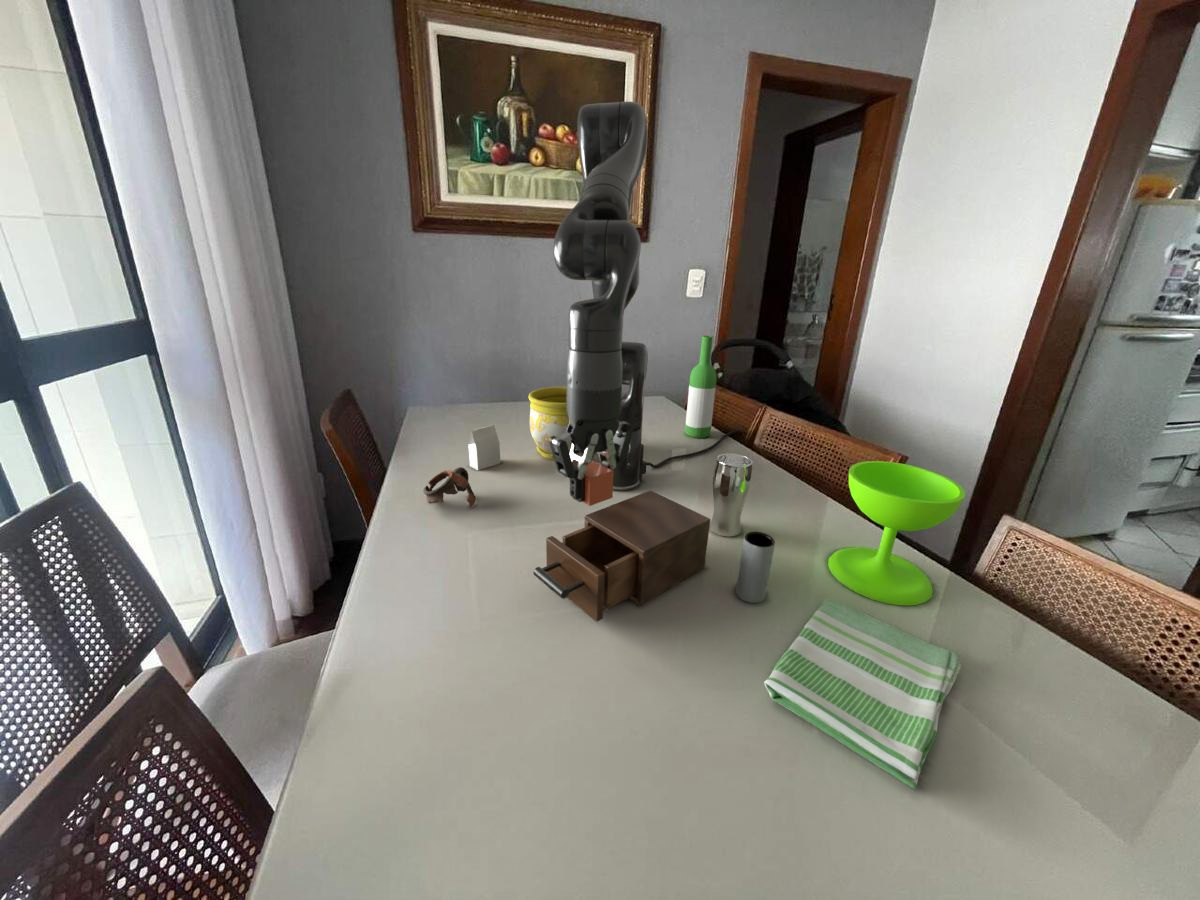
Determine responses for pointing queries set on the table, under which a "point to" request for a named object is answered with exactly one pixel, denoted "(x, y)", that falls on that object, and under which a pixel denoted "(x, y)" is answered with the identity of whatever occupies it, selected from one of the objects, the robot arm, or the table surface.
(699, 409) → the wine bottle
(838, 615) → the dish towel
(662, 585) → the cabinet
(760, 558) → the grey cylinder
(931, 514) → the wineglass
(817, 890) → the table surface
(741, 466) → the beer glass
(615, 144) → the robot arm
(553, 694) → the table surface
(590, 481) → the block
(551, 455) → the flowerpot
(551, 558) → the drawer
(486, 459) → the white milk carton
